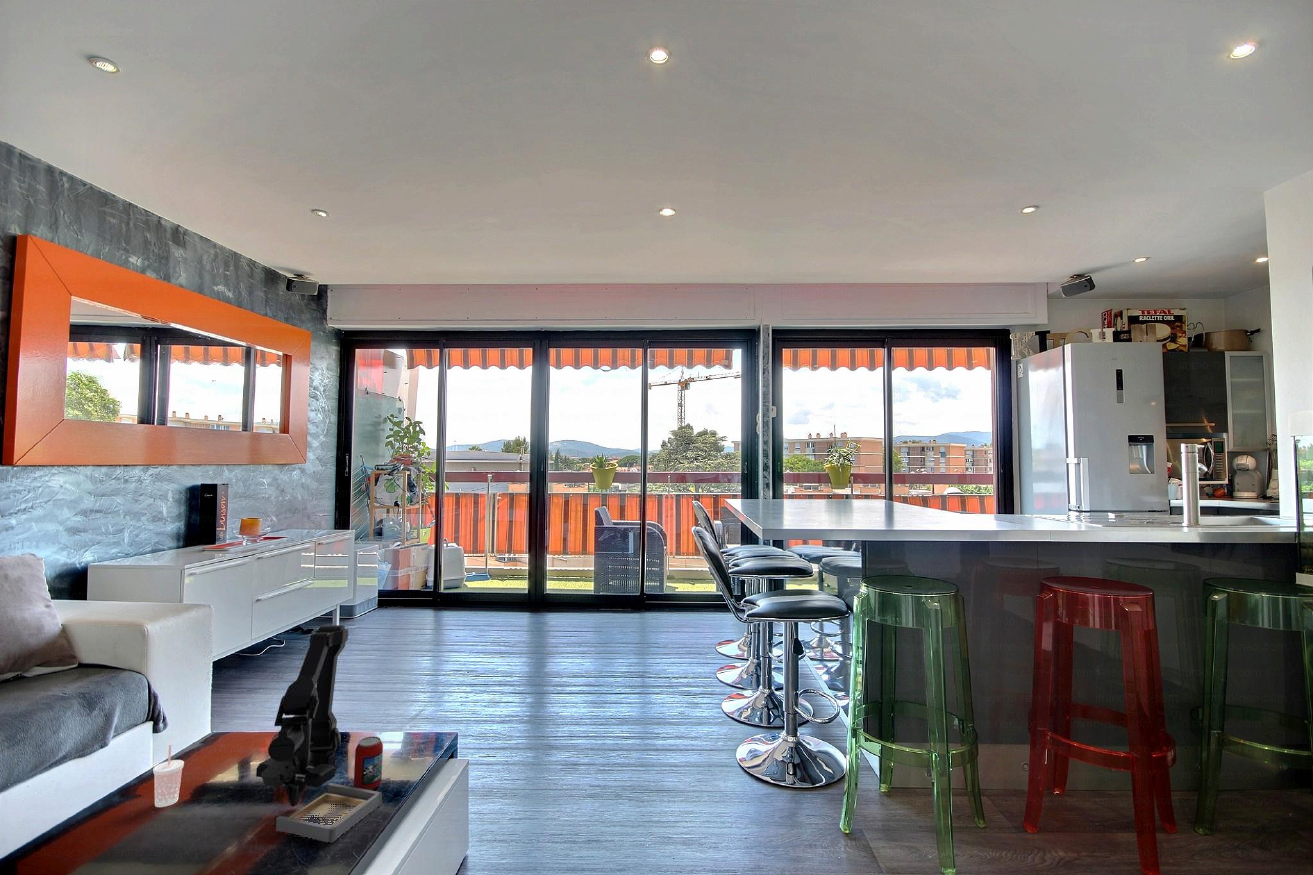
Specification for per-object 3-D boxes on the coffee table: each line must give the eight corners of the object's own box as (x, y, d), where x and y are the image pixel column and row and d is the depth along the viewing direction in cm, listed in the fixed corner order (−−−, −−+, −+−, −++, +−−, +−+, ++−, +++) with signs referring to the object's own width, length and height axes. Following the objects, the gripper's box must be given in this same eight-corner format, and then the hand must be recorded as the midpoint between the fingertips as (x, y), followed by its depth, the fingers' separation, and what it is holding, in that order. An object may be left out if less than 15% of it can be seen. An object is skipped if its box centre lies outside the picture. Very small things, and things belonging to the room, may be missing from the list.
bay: (276, 831, 143) (276, 817, 144) (330, 794, 160) (330, 782, 160) (331, 843, 140) (332, 829, 140) (381, 804, 156) (381, 792, 156)
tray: (284, 828, 145) (285, 819, 145) (325, 800, 157) (326, 792, 158) (328, 837, 142) (329, 828, 142) (367, 809, 154) (367, 800, 154)
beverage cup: (186, 799, 155) (190, 743, 156) (158, 811, 150) (161, 753, 151) (174, 793, 158) (177, 737, 159) (146, 804, 153) (149, 747, 153)
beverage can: (370, 794, 160) (372, 747, 161) (347, 791, 161) (349, 744, 162) (386, 781, 167) (388, 736, 167) (364, 778, 168) (366, 734, 168)
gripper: (238, 751, 147) (234, 817, 147) (302, 762, 143) (299, 830, 143) (276, 731, 158) (273, 793, 158) (338, 741, 154) (335, 804, 153)
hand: (294, 805), depth 153 cm, fingers closed
